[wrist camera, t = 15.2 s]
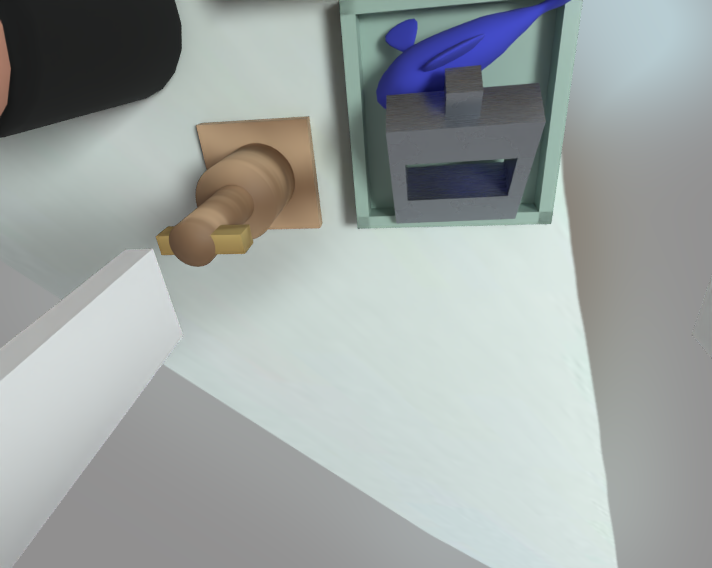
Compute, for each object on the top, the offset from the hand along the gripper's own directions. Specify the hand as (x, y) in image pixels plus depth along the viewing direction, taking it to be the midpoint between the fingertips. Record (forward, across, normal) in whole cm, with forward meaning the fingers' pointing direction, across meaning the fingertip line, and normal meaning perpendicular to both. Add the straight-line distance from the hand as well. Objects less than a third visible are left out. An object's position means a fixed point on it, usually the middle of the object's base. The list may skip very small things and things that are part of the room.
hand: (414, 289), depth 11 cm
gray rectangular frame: (+23, +3, -2) cm, 24 cm away
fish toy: (+26, +4, +3) cm, 27 cm away
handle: (+27, -13, -5) cm, 30 cm away
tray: (+27, +2, -1) cm, 27 cm away
